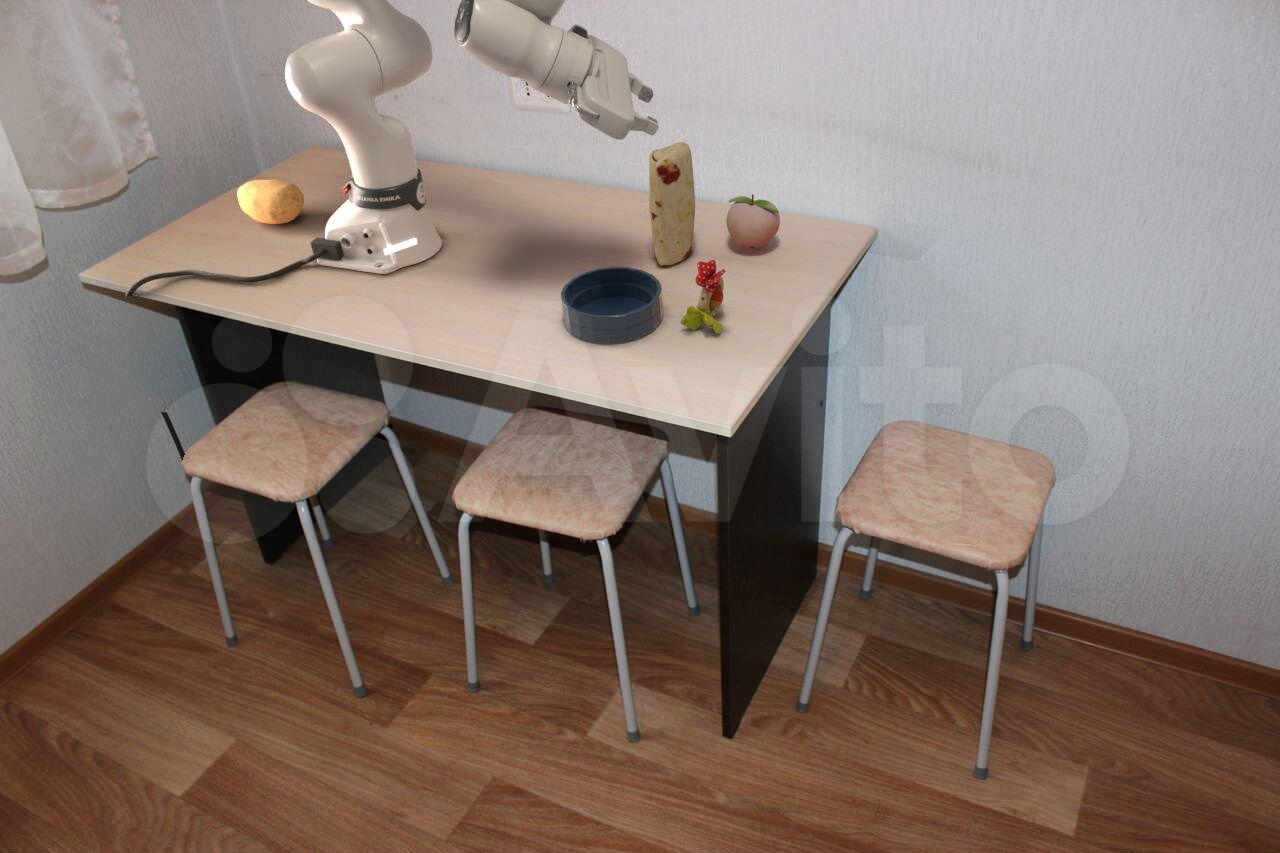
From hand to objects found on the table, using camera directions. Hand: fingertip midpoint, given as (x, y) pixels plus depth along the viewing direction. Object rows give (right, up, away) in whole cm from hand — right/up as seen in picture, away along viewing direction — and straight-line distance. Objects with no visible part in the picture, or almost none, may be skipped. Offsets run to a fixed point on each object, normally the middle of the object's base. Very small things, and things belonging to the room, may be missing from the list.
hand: (653, 112), depth 149 cm
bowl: (-6, -28, +15) cm, 33 cm away
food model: (+4, -16, +30) cm, 35 cm away
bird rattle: (+9, -29, +13) cm, 33 cm away
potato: (-73, -5, +53) cm, 90 cm away
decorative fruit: (+18, -15, +31) cm, 39 cm away
